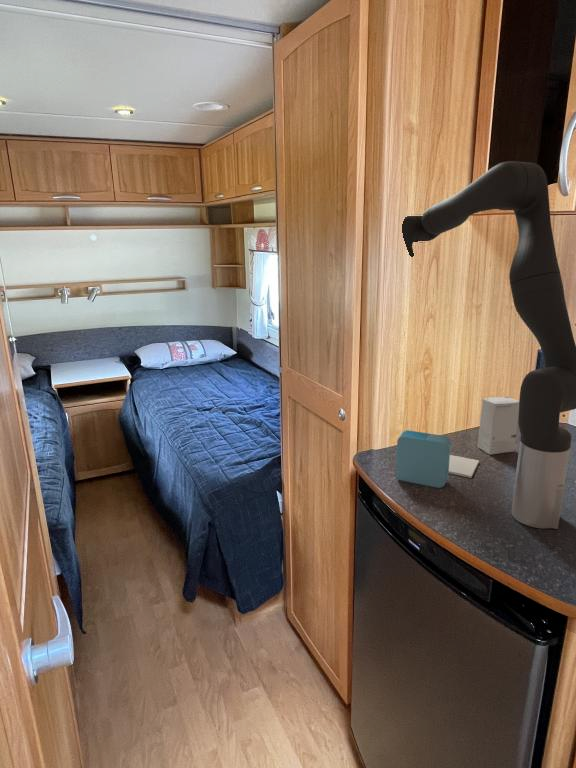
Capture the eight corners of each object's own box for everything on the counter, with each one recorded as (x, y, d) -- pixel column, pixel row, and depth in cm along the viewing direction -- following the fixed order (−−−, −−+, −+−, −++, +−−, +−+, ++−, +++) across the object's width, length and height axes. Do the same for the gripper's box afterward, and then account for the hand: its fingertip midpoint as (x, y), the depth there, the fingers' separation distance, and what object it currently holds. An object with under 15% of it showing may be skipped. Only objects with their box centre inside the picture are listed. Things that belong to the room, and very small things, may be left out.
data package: (447, 481, 123) (451, 436, 120) (444, 489, 120) (448, 443, 116) (400, 472, 129) (402, 429, 125) (395, 479, 125) (397, 435, 121)
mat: (478, 462, 133) (479, 460, 133) (471, 478, 125) (471, 475, 125) (426, 452, 140) (426, 450, 140) (415, 466, 132) (416, 464, 131)
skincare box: (489, 455, 137) (494, 404, 133) (476, 446, 143) (480, 397, 138) (515, 451, 139) (521, 401, 135) (501, 443, 145) (507, 394, 140)
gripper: (390, 296, 133) (381, 349, 142) (433, 291, 139) (421, 343, 147) (375, 286, 139) (366, 338, 147) (416, 281, 144) (406, 332, 153)
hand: (394, 340), depth 147 cm, fingers open, 8 cm apart
